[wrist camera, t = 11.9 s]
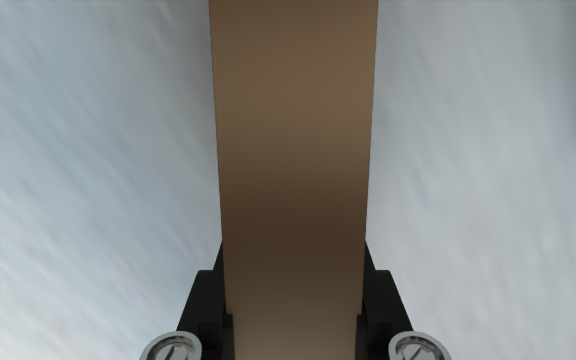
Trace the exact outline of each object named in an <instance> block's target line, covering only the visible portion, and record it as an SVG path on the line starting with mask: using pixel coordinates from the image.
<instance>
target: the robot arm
mask: <svg viewBox="0 0 576 360" xmlns="http://www.w3.org/2000/svg"><path fill="white" fill-rule="evenodd" d="M139 360H235V350H234V329H233V314H226V297H225V279H224V261H223V244H222V243H221V246H220V249H219V252H218V255H217V259H216V262H215V265H214V268H213V270H199V271H198V273H197V275H196V278H195V280H194V283H193V286H192V289H191V291H190V294H189V297H188V299H187V302H186V305H185V308H184V310H183V313H182V316H181V318H180V321H179V324H178V327H177V329H176V331H174V332H168V333H166V334H163V335H161V336H159V337H157V338H156V339H154V340H153V341H151V342H150V343H149V344H148V345H147V346H146V348H145V349H144V351H143V352H142V354H141V356H140V359H139ZM355 360H452V359H451V356H450V355H449V353H448V351H447V349H446V348H445V347H444V346H443V345H442V344H441V343H440V342H439V341H437V340H436V339H434V338H433V337H431V336H429V335H426V334H424V333H420V332H415V331H413V328H412V326H411V323H410V320H409V318H408V315H407V313H406V310H405V308H404V305H403V303H402V300H401V298H400V295H399V293H398V290H397V288H396V285H395V283H394V280H393V278H392V275H391V273H390V271H388V270H375V267H374V264H373V261H372V258H371V255H370V252H369V249H368V246H367V243H366V240H365V253H364V272H363V290H362V309H361V315H357V322H356V342H355Z"/></svg>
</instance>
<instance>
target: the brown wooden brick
mask: <svg viewBox="0 0 576 360" xmlns="http://www.w3.org/2000/svg"><path fill="white" fill-rule="evenodd" d="M377 12H378V0H209V13H210V31H211V48H212V66H213V84H214V102H215V119H216V137H217V155H218V173H219V190H220V208H221V226H222V244H223V261H224V279H225V297H226V314H233V329H234V350H235V360H355V342H356V322H357V315H361V309H362V290H363V272H364V253H365V235H366V216H367V197H368V179H369V160H370V142H371V123H372V105H373V86H374V68H375V49H376V30H377Z"/></svg>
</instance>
